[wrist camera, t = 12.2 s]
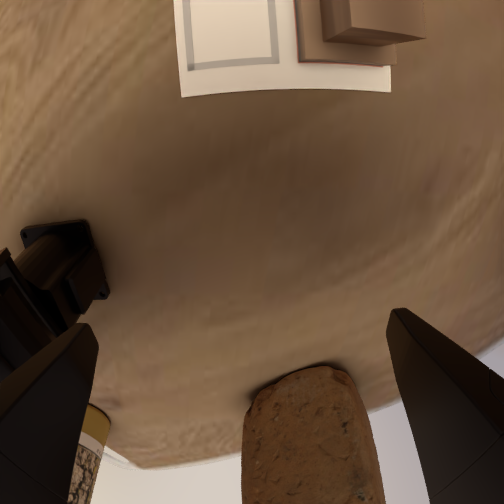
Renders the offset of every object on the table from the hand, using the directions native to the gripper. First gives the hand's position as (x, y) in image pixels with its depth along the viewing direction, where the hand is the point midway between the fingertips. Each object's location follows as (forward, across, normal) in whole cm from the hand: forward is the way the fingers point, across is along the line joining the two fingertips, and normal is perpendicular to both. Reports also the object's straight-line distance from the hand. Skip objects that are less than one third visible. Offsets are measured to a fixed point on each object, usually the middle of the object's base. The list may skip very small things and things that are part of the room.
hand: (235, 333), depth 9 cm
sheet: (+12, -3, -10) cm, 16 cm away
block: (+12, -4, +20) cm, 24 cm away
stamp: (+12, -6, -10) cm, 16 cm away
